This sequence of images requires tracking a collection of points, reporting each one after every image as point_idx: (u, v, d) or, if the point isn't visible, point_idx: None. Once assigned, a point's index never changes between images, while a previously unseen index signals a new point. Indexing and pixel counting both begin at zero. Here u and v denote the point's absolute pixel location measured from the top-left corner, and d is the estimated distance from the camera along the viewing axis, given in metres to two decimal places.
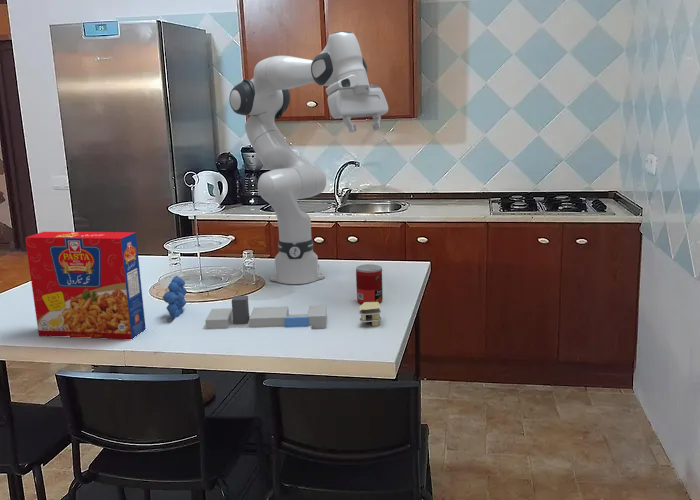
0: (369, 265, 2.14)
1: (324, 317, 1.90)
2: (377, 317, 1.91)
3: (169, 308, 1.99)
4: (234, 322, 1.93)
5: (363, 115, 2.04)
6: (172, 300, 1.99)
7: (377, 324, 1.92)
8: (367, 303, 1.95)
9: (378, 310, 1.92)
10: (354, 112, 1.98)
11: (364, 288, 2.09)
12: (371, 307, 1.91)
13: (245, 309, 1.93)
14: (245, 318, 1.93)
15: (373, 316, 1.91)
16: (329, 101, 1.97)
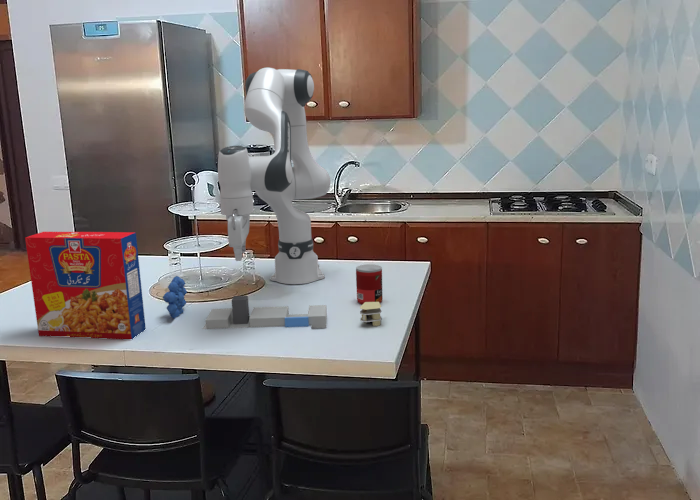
0: (369, 265, 2.14)
1: (324, 317, 1.90)
2: (378, 317, 1.91)
3: (169, 308, 1.99)
4: (234, 322, 1.93)
5: None
6: (172, 300, 1.99)
7: (378, 324, 1.92)
8: (368, 303, 1.95)
9: (379, 310, 1.92)
10: None
11: (364, 288, 2.09)
12: (372, 307, 1.91)
13: (245, 309, 1.93)
14: (245, 318, 1.93)
15: (374, 316, 1.91)
16: None
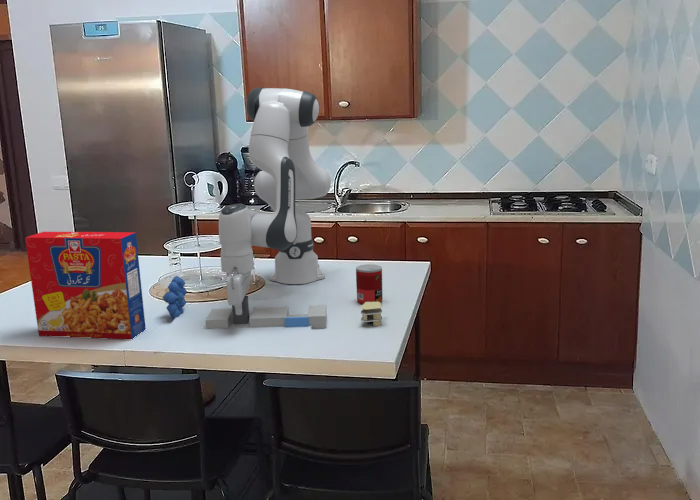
0: (369, 265, 2.14)
1: (324, 317, 1.90)
2: (378, 317, 1.91)
3: (169, 308, 1.99)
4: (234, 322, 1.93)
5: None
6: (172, 300, 1.99)
7: (378, 324, 1.92)
8: (368, 303, 1.95)
9: (379, 310, 1.93)
10: None
11: (364, 288, 2.09)
12: (372, 307, 1.91)
13: (245, 309, 1.93)
14: (245, 318, 1.93)
15: (374, 316, 1.91)
16: None
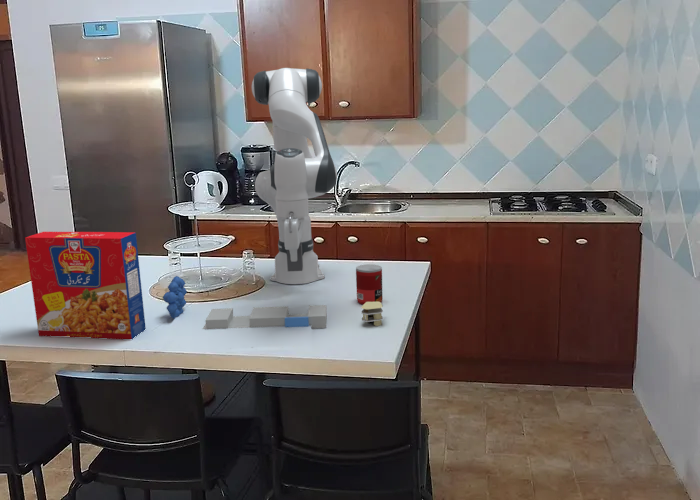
0: (369, 265, 2.14)
1: (324, 317, 1.90)
2: (379, 317, 1.91)
3: (169, 308, 1.99)
4: (288, 269, 1.90)
5: None
6: (172, 300, 1.99)
7: (379, 324, 1.92)
8: (369, 303, 1.95)
9: (380, 310, 1.93)
10: None
11: (364, 288, 2.09)
12: (373, 307, 1.91)
13: (300, 256, 1.89)
14: (300, 265, 1.90)
15: (375, 316, 1.91)
16: None
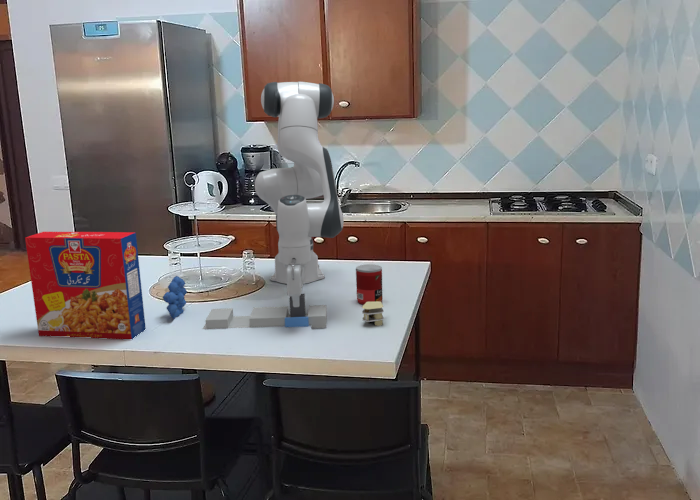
0: (369, 265, 2.14)
1: (324, 317, 1.90)
2: (380, 316, 1.91)
3: (169, 308, 1.99)
4: None
5: None
6: (172, 300, 1.99)
7: (380, 323, 1.92)
8: (370, 303, 1.95)
9: (381, 309, 1.93)
10: None
11: (364, 288, 2.09)
12: (374, 307, 1.91)
13: (303, 307, 1.93)
14: (303, 316, 1.93)
15: (376, 315, 1.91)
16: None
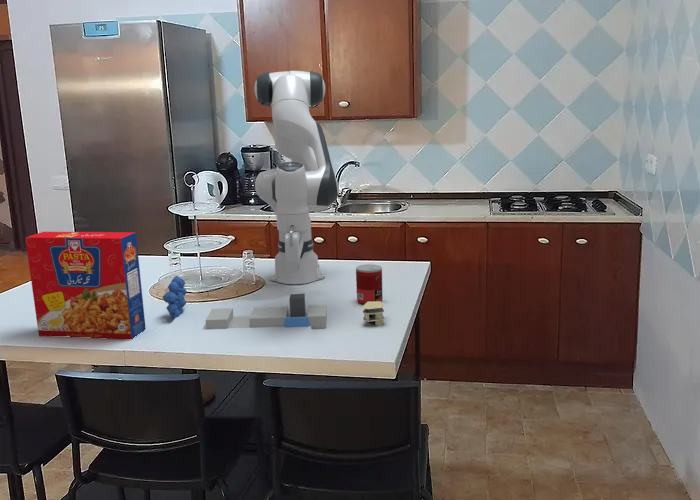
0: (369, 265, 2.14)
1: (324, 317, 1.90)
2: (380, 316, 1.92)
3: (169, 308, 1.99)
4: None
5: None
6: (172, 300, 1.99)
7: (380, 323, 1.92)
8: (370, 302, 1.95)
9: (381, 309, 1.93)
10: None
11: (364, 288, 2.09)
12: (374, 306, 1.91)
13: (303, 307, 1.93)
14: (303, 316, 1.93)
15: (376, 315, 1.91)
16: None
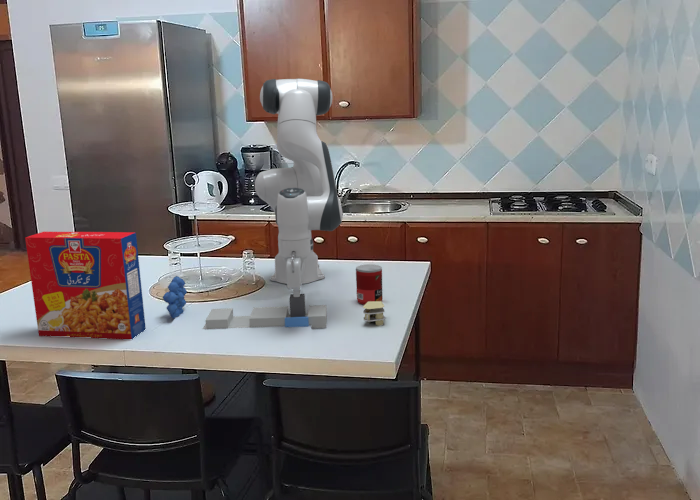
0: (369, 265, 2.14)
1: (324, 317, 1.90)
2: (381, 316, 1.92)
3: (169, 308, 1.99)
4: None
5: None
6: (172, 300, 1.99)
7: (381, 323, 1.92)
8: (371, 302, 1.95)
9: (382, 309, 1.93)
10: None
11: (364, 288, 2.09)
12: (375, 306, 1.92)
13: (303, 307, 1.93)
14: (303, 316, 1.93)
15: (377, 315, 1.91)
16: None
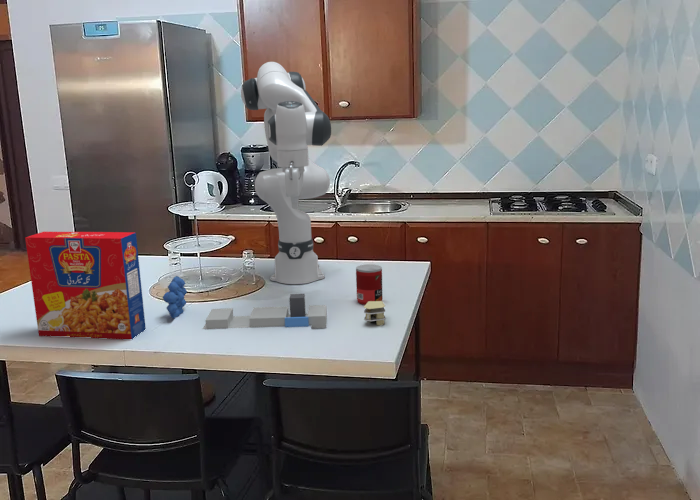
0: (369, 265, 2.14)
1: (324, 317, 1.90)
2: (382, 316, 1.92)
3: (169, 308, 1.99)
4: None
5: None
6: (172, 300, 1.99)
7: (382, 323, 1.92)
8: (371, 302, 1.95)
9: (382, 309, 1.93)
10: None
11: (364, 288, 2.09)
12: (376, 306, 1.92)
13: (303, 307, 1.93)
14: (303, 316, 1.93)
15: (378, 315, 1.92)
16: None
